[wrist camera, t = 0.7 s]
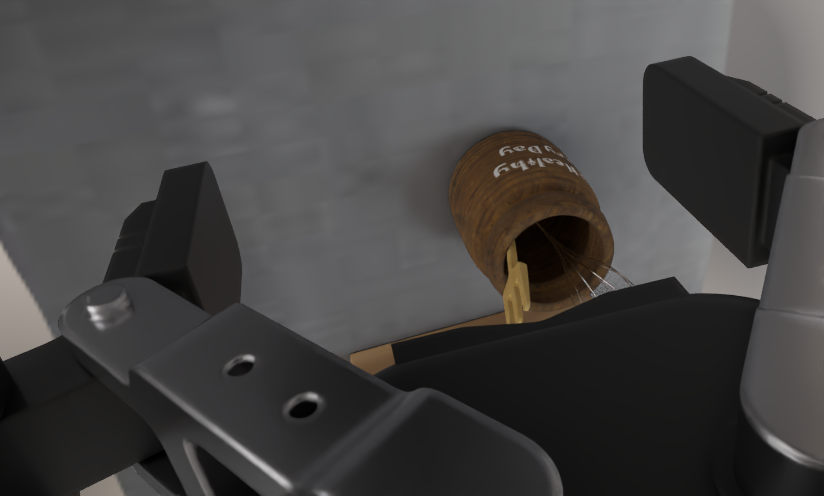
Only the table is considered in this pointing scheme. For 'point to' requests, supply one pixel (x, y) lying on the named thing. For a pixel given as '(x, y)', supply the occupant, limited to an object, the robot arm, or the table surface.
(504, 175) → the utensil holder
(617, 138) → the table surface
